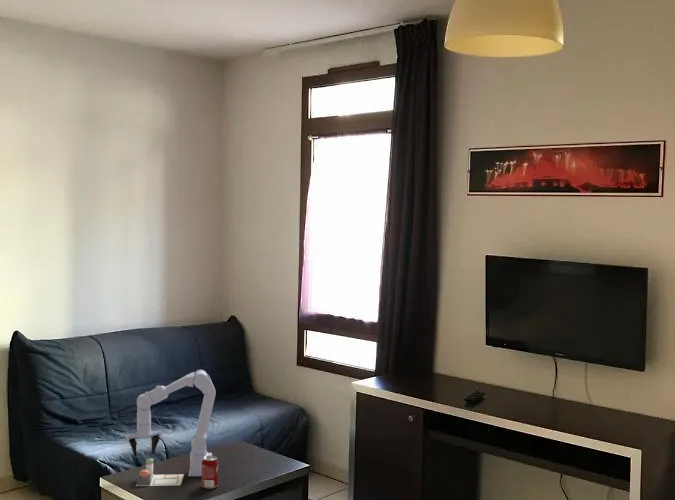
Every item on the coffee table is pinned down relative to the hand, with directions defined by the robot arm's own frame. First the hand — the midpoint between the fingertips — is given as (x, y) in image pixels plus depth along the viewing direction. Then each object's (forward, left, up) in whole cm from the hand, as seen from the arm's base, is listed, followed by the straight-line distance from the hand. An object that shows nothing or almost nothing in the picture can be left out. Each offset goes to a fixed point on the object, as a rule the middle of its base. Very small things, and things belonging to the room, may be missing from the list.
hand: (144, 454), depth 322 cm
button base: (-1, +9, -9) cm, 13 cm away
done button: (-1, +9, -8) cm, 12 cm away
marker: (-2, +2, -9) cm, 10 cm away
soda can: (-28, +13, -10) cm, 33 cm away
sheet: (-7, +5, -9) cm, 13 cm away
